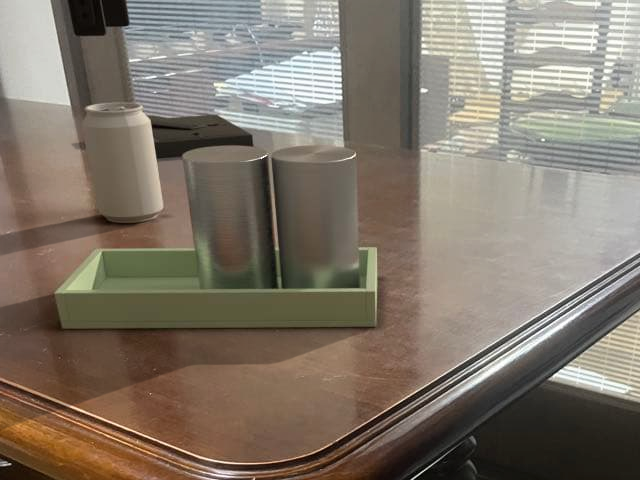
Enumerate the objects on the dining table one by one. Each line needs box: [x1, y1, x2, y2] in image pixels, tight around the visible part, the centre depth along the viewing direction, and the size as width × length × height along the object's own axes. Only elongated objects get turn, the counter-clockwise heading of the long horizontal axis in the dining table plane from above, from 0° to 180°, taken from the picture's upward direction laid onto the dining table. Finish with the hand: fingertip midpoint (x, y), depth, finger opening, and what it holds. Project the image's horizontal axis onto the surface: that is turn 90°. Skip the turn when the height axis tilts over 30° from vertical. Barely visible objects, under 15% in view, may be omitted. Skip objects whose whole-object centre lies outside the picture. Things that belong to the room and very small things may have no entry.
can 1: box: [81, 101, 164, 224], centre depth 100 cm, size 8×8×12 cm
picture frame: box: [146, 114, 254, 159], centre depth 141 cm, size 16×3×21 cm
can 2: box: [181, 146, 279, 289], centre depth 76 cm, size 7×7×12 cm
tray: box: [53, 246, 378, 330], centre depth 79 cm, size 27×13×3 cm, turn 91°
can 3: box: [270, 144, 360, 289], centre depth 76 cm, size 7×7×12 cm
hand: (103, 30), depth 93 cm, fingers open, 9 cm apart
